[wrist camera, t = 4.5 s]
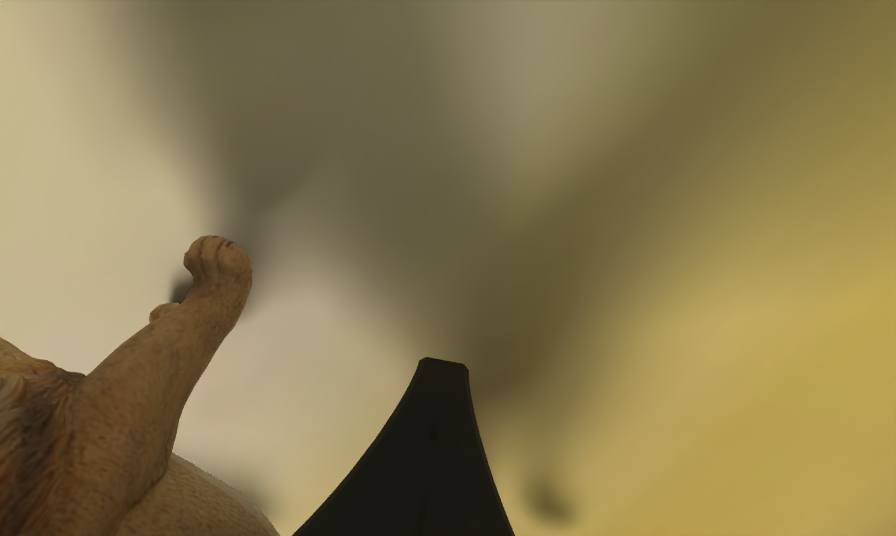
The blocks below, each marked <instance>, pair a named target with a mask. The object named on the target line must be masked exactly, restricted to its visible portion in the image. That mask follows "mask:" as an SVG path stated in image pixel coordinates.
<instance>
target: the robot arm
mask: <svg viewBox="0 0 896 536" xmlns="http://www.w3.org/2000/svg"><path fill="white" fill-rule="evenodd" d="M292 536H515V534H514V532H513V530H512V527H511V525H510V522H509V520H508V517H507V515H506V512H505V510H504V507H503V505H502V502H501V499H500V496H499V494H498V491H497V488H496V485H495V483H494V480H493V477H492V474H491V471H490V468H489V465H488V461H487V458H486V454H485V451H484V448H483V444H482V441H481V437H480V434H479V430H478V426H477V422H476V417H475V413H474V408H473V403H472V398H471V392H470V384H469V370H468V369H467V367H466V366H465V365H464V364H461V363H456V362H450V361H445V360H440V359H434V358H429V357H425V358H423V359H421V360H419V363H418V366H417V369H416V372H415V374H414V376H413V378H412V380H411V382H410V384H409V386H408V388H407V390H406V392H405V394H404V395H403V397H402V399H401V400H400V402H399V404H398V406H397V407H396V409H395V410H394V412H393V413H392V415H391V416H390V418H389V419H388V421H387V422H386V424H385V425H384V427H383V428H382V430H381V431H380V433H379V434H378V436H377V437H376V439H375V440H374V441H373V443H372V444H371V445H370V447H369V448H368V449H367V450H366V452H365V453H364V454H363V456H362V457H361V458H360V460H359V461H358V462H357V463H356V465H355V466H354V467H353V469H352V470H351V471H350V472H349V474H348V475H347V476H346V477H345V478H344V480H343V481H342V482H341V483H340V484H339V486H338V487H337V488H336V489H335V490H334V491H333V493H332V494H331V495H330V496H329V497H328V498H327V499H326V500H325V502H324V503H323V504H322V505H321V506H320V507H319V508H318V509H317V510H316V511H315V513H314V514H313V515H312V516H311V517H310V518H309V519H308V520H307V521H306V522H305V523H304V524H303V525H302V526H301V527H300V528H299V529H298V530H297V531H296V532H295V533H294V534H293V535H292Z"/></svg>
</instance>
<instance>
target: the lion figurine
mask: <svg viewBox="0 0 896 536" xmlns="http://www.w3.org/2000/svg"><path fill="white" fill-rule="evenodd" d="M184 266H185V267H186V268H187V269H188V270H189V271H190V272H191V273H192V275H193V277H194V278H193V283H192V285H191V287H190V289H189V290H188V292H187V295H186V297H185V300H184V301H183V302H182V303H181V304H179V303H178V302H177V303H169V304H162V305H159V306H158V307H156V308H155V309H154V310H153V311H152V312H151V313H150V316H149V321H150V323H149V324H148V325H147V326H145V327H144V328H143V329H141V330H140V331H139V332H137V333H136V334H135V335H133V336H132V337H131V338H129V339H128V340H127V341H125V342H124V343H123V344H121V345H120V346H119V347H118V348H117V349H116V350H114V351H113V352H112V353H111V354H110V355H109V356H108V357H107V358H106V359H105V360H104V361H103V362H101V363H100V364H99V365H98V366H97V367H96V368H95V369H94V370H93V371H92V372H91V373H90V374H88V375H87V376H85V375H84V374H82V373H78V372H67V371H65V370H64V369H62V368H59V367H56V366H55V365H54V364H53V363H52V362H50V361H48V360H41V359H36V358H33V357H31V356H29V355H27V354H26V353H24V352H22V351H21V350H19V349H18V348H17V347H15V346H14V345H13V344H11V343H10V342H8V341H6V340H4V339H2V338H0V536H280V535H279V533H278V532H277V531H276V529H275V528H274V527H273V525H272V524H271V522H270V521H269V520H268V518H267V517H266V516H265V515H264V514H263V513H262V512H261V511H260V510H259V509H258V508H257V507H256V506H255V505H254V504H253V503H252V502H250V501H249V500H248V499H247V498H246V497H244V496H243V495H242V494H241V493H240V492H238V491H236V490H235V489H233V488H232V487H230V486H229V485H227V484H225V483H224V482H222V481H221V480H219V479H217V478H216V477H214V476H213V475H211V474H209V473H207V472H205V471H203V470H201V469H200V468H198V467H197V466H195V465H194V464H192V463H190V462H188V461H187V460H185V459H183V458H181V457H179V456H177V455H175V454H174V453H172V449H173V445H174V441H175V437H176V434H177V428H178V423H179V419H180V416H181V413H182V410H183V408H184V405H185V403H186V401H187V399H188V397H189V396H190V394H191V392H192V390H193V388H194V386H195V385H196V383H197V381H198V380H199V378H200V377H201V375H202V374H203V372H204V371H205V369H206V368H207V366H208V364H209V363H210V361H211V359H212V357H213V355H214V353H215V352H216V350H217V349H218V347H219V346H220V344H221V343H222V341H223V340H224V338H225V337H226V336H227V335H228V334H229V332H230V331H231V330H232V329H233V328H234V326H235V324H236V322H237V320H238V318H239V316H240V314H241V312H242V310H243V308H244V306H245V303H246V300H247V297H248V295H249V292H250V289H251V285H252V271H251V266H250V262H249V259H248V257H247V255H246V254H245V253H244V251H243V250H242V249H241V248H240V247H239V246H238V245H237V244H236V243H234V242H232V241H230V240H228V239H225V238H223V237H219V236H202V237H200V238H199V239H197V240H196V241H194V242H193V243H192V245H191V246H190V249H189V250H188V251H187V252H186V253H185V256H184Z"/></svg>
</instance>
